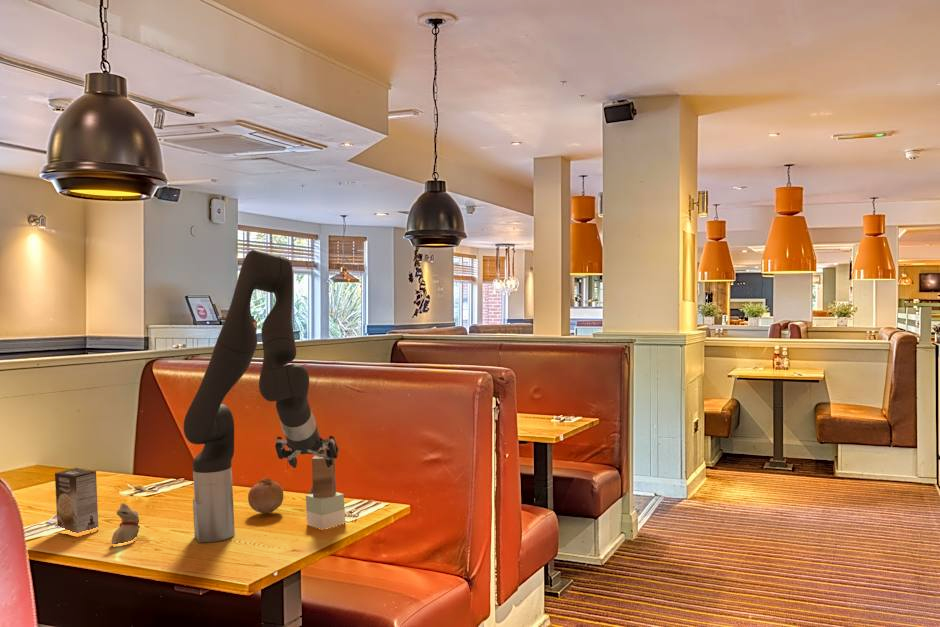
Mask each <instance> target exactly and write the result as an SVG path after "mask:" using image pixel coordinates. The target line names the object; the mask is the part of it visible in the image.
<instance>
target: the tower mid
mask: <svg viewBox="0 0 940 627" xmlns="http://www.w3.org/2000/svg"><path fill="white" fill-rule="evenodd" d="M344 496H345V494H344V493H341V492H337V491H336V492H335V494H334V495H333V497H313V494H310V493H309V494H307V495H305V502H306V503H305V506H306V507H305V508H306V512H307V511H309V512H312V513H316V514H319V515H325V514H329V513H333V512H336V511H340V510H344V509H345V497H344Z"/></svg>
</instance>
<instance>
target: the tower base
mask: <svg viewBox="0 0 940 627" xmlns="http://www.w3.org/2000/svg"><path fill="white" fill-rule="evenodd" d="M343 523H345V524H346V510H345V508H344V510H340V511H336V512H333V513H329V514H325V515H319V514H316V513H312V512H309V511H306V525H307V526H308V525H310V526H309V527H311V526H313V527H312V528H314V527H317V528H320V529H326V528H329V527H333V526H336V525H340V524H343ZM343 525H344V524H343ZM340 526H341V525H340ZM336 527H337V526H336ZM317 528H316V529H317ZM333 528H334V527H333ZM320 529H319V530H320ZM329 529H330V528H329ZM326 530H327V529H326Z"/></svg>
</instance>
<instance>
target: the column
mask: <svg viewBox="0 0 940 627" xmlns="http://www.w3.org/2000/svg"><path fill="white" fill-rule="evenodd" d="M333 459H334V460H333V465H331V467H327V464H326V461H325V459H324V458H323V457H318V456H316V455H314V456H313V457H312V458H311V473H312V476H311V477H312V485H313V497H333V495H334V494H335V492H337V488H336V484H337V483H336V458H333Z"/></svg>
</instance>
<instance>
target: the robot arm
mask: <svg viewBox="0 0 940 627" xmlns="http://www.w3.org/2000/svg"><path fill="white" fill-rule="evenodd" d="M293 273H294V272H293V266H292V262H291V261H290V259H289V258H287V257H286V256H282V255H280V254H277V253H272V252H268V251H263V250H259V249H255V248H254V249H250V251H249V252H248V253H247V254H246V255H245V257H244V259H243V261H242V264H241V267H240V271H239V274H238V276H237V277H238V278H237V281H236V284H235V288H234V291H233V296H232V299H231V302H230V306H229V308H228V311H227V314H226V318H225V319H224V322H223V324H222V328H220V332H219V334H218V337H217V339H216V342H215V344H214V348H213V351H212V353H211V357H210V360H209V363H208V365H207V367H206V370H205V372H204V375H203V378H202V380H201V383H200V385H199V386H198V390H196V393H195V396H194V397H193V398H192V402H191V403H190V406H189V407H188V410H187V412H186V414H185V417H184V420H183V434H184V437H185V438H186V440H187V441H188V442H189V443H191V444H192V445H203V448H202V450H201V451H200V452H199V453H198V454H197V455H196V456H195V457H194V458H193V460H192V475H193V476H192V477H193V478H192V480H193V481H192V482H193V498H194V499H193V498H192V507H193V508H192V509H193V510H192V511H193V530H194V531H193V532H194V533H193V534H194V538H195V540H196V539H197V540H196V541H197V543H198V542H200V543H215V542H221V541H225V540H228V539H231V538H232V537H234V536H235V532H236V531H235V528H236V527H235V511H234V510H235V509H234V492H233V490H234V489H233V473H232V472H233V471H232V470H233V469H232V467H233V466H232V462H233V461H232V460H233V458H234V454H235V419H234V416H233V413H232V410H230V408H229V407H228V406H227V405H226V404H223V401H224V399H225V397H227V394H228V393H229V392H230V391H231V390H232V389H233V388H234V386H235V385H236V384H237V383H238V381H239V380H240V379H241V378H242V377H243V376H244V374H245V373H246V372H247V370H248V368H249V367H250V365H251V363H252V359H253V357H254V354H255V351H256V348H257V346H258V335H257V330H256V326H255V323H254V319H253V316H252V310H251V304H252V303H251V302H252V297H253V293H254V291H255V290H257V291H262V292H265V293H271V294H273V295H274V297H275V303H274V306H273V307H272V309H271V310H270V311H269V313H268V314H267V315H266V317H265V319H264V321H263V324H262V326H261V333H260V335H261V342H262V350H263V351H262V352H263V360H262V365H261V366H262V367H261V370H260V374H259V380H258V389H259V392H260V395H261V396H262V397H263V399H264V400H266V401H267V402H270V403H271V402H275V409H276V412H277V414H278V417H279V420H280V426H281V430H282V431H283V434H284V436H285V439H283V437H281V436H276V439H275V440H276V441H275V446H274V447H275V451H276V455H277V458H278V459H280V460H284V458H285V459H286V460H287V461H288V464H289V466H290V467H291V466H292V468H293V469H295V468H297V466H298V465H297V464H298V459H297V456H298V455H299V454H300V455H314V456H315V455H316V456H318V457H323V458H324V459H325V461H326V464H327V467H331V465H333V460H334V459H333V458H335V459H337V458H338V454H339V446H338V443H337V441H336V438H335V437H334V436H333V435H330V436H329V437H328V438H327V439H326V438H325V439H323V437H321V436H320V432H319V429H318V425H317V423H316V418H315V415H314V414H313V411H312V410H311V406H310V403H309V400H308V398H309V397H308V394H309V389H310V375H309V371H308V370H307V368H306V367H305V366H304V365H302V364H300V363H291V362H293V361H294V360H295V359H296V357H297V345H296V339H295V334H294V327H293V298H294V295H293V294H294V288H293V287H294V274H293ZM290 363H291V364H290ZM286 446H287V447H288V449H287V450H286V449H285V447H286Z"/></svg>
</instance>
